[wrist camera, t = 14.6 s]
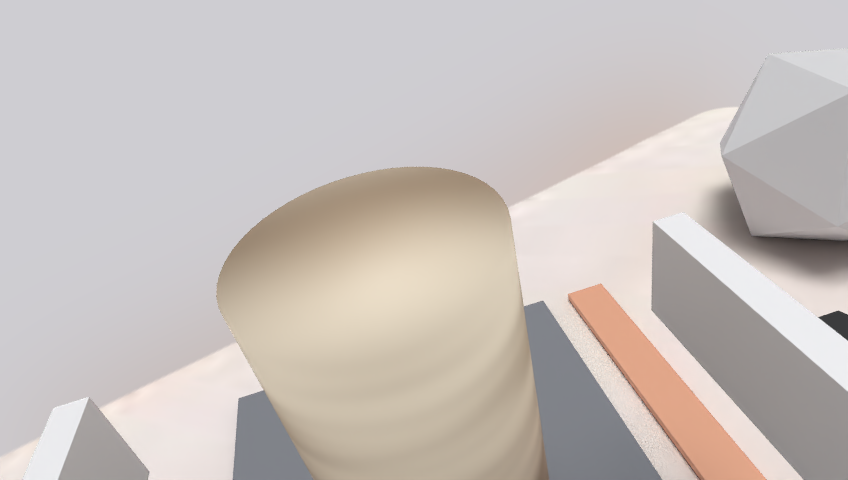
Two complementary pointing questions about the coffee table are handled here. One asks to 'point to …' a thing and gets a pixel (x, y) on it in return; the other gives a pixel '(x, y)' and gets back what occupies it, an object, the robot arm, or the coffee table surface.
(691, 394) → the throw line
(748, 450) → the coffee table surface
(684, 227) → the robot arm
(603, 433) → the mat
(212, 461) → the coffee table surface
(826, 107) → the die
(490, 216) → the beige banded cylinder
